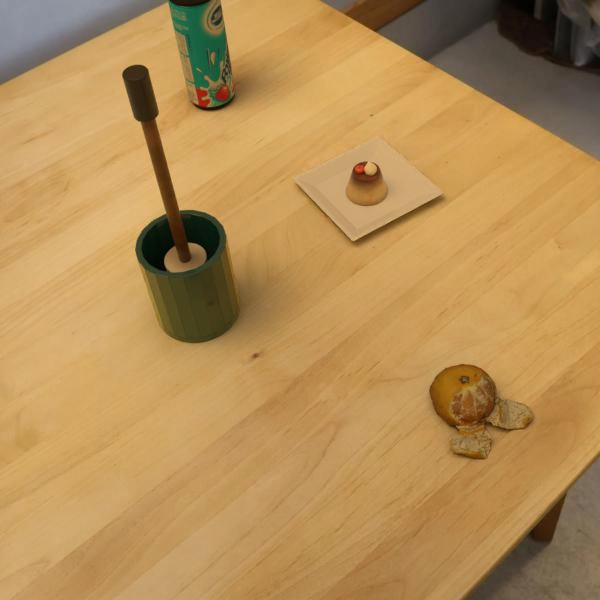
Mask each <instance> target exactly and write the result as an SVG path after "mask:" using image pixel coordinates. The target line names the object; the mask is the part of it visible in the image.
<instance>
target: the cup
mask: <svg viewBox="0 0 600 600" xmlns="http://www.w3.org/2000/svg"><path fill="white" fill-rule="evenodd" d="M179 211H180V215H181V218H182V222H183V226H184V230H185V234H186V238H187V241H188V243H194V244H197V245H199V246H201V247H202V248H203V249H204V250H205V252H206V255H207V259H208V261H207V262H206V263H204V264H203V265H201V266H199V267H197V268H195V269H192V270H188V271H184V272H171V273H170V272H167V270H166V267H165V264H164V259H165V256H166V254H167V252H168V251H169V250H170V249H171V248H173V247H174V246H175V244H174V240H173V236H172V233H171V229H170V226H169V222H168V219H167V215H166V213H163V214H161V215H160V216H158V217H157V218H153V219H152V220H151V221H150V222H149V223H148V224H147V225H145V226H144V227H143V229H142V230H141V231H140V233H139V235H138V237H137V238H136V242H135V247H134V251H135V252H134V253H135V256H136V260H137V263H138V266H139V270H140V271H141V275H142V278H143V281H144V283H145V286H146V289H147V292H148V295H149V299H150V301H151V304H152V307H153V310H154V313H155V316H156V319H157V322H158V324H159V326H160V328H161V329H162V331H163V332H164V333H165V334H166V335H168V336H169V337H170V338H172V339H174V340H176V341H180V342H183V343H190V344H192V343H193V344H196V343H204V342H208V341H211V340H214V339H216V338H218V337H220V336H221V335H224V334H225V333H226V332H228V330H229V329H230V328H231V327H232V326H233V325H234V324H235V322H236V321H237V319H238V316H239V313H240V310H241V302H240V295H239V289H238V284H237V280H236V274H235V270H234V266H233V260H232V255H231V250H230V246H229V241H228V237H227V233H226V230H225V228H224V225H223V224H222V223H221V222H220V221H219V219H217V217H215V216H213V215H211V214H209V213H207V212H206V211H205V212H204V211H201V210H195V209H179Z"/></svg>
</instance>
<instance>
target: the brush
mask: <svg viewBox="0 0 600 600" xmlns="http://www.w3.org/2000/svg"><path fill="white" fill-rule="evenodd" d="M121 78H122V80H123V84H124V87H125V88H124V89H125V91H126V95H127V98H128V101H129V105H130V109H131V112H132V115H133V118H134V119H135V121H137V122H138V123H139V122H140V126H141V128H142V133H143V136H144V139H145V143H146V147H147V150H148V153H149V157H150V160H151V165H152V167H153V172H154V175H155V179H156V182H157V186H158V189H159V194H160V197H161V201H162V204H163V207H164V211H165V214H166V215H167V219H168V222H169V226H170V229H171V233H172V236H173V240H174V244H175V246H174V247H173V248H171V249H170V250H169V251H168V252H167V254H166V256H165V259H164V264H165V267H166V270H167V272H170V273H171V272H184V271H188V270H192V269H195V268H197V267H199V266H201V265H203V264H204V263H206V262H207V261H208V259H207V255H206V252H205V250H204V249H203V248H202V247H201V246H199V245H197V244H194V243H188V241H187V238H186V234H185V230H184V226H183V222H182V218H181V215H180V211H179V210H180V208H179V204H178V199H177V196H176V192H175V188H174V183H173V180H172V177H171V172H170V168H169V166H168V162H167V161H168V160H167V158H166V152H165V149H164V146H163V142H162V138H161V135H160V131H159V127H158V123H157V119H156V118H158V116H159V114H160V113H159V112H160V111H159V107H158V102H157V99H156V94H155V90H154V86H153V82H152V78H151V74H150V71H149V69H148V67H147V66H145V65H144V64H132V65H130V66H127V67H125V68H124V69H123V71H122V73H121Z"/></svg>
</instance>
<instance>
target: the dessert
mask: <svg viewBox="0 0 600 600" xmlns="http://www.w3.org/2000/svg"><path fill="white" fill-rule="evenodd" d="M292 180H293V181H294V182H295V184H297V186H299V187H300V188H301V189H302V190H303V191H304V192H305V193H306V194H307V195H308V197H310V199H311V200H312V201H313V202H314V203H315V204H316V205H317V206H318V207H319V208H320V209H321V210H322V211H323V212H324V213H325V214H326V215H327V217H329V218H330V219H331V221H333V223H334V224H336V226H337V227H338V228H339V229H340V230H341V231H342V232H343V233H344V234H345V235H346V236H347V237H348V238H349V239H350V240H351V241H352V242H355V241H357V240H358V239H359V240H360V238H362V237H365V236H366V235H368V234H370V233H372V232H374V231H376V230H377V229H379V228H381V227H383V226H385V225H387V224H388V223H390V222H392V221H394V220H396V219H398V218H400V217H402V216H404V215H406V214H408V213H409V212H411V211H413V210H416V209H418V208H419V207H421V206H423V205H425V204H427V203H428V202H430V201H432V200H435V199H436V198H437V197H440V196H441V195H443V194H444V191H442V189H440V188H439V187H438V186H437V185H436V184H434V182H432V180H430V179H429V178H428V177H427V176H426V175H424V173H422V172H421V171H420V170H419V169H418V168H417V167H415V166H414V165H413V163H411V162H410V161H409V160H408V159H406V157H404V156H403V155H402V154H401V153H400V152H399V151H398V150H396V149H395V148H394V147H393V146H392V145H391V144H389V142H387V141H386V140H385V139H384V138H383V137H382V136H381V135H376V136H374V137H372V138H370V139H368V140H366V141H364V142H362V143H359V144H358V145H356V146H353V147H352V148H350V149H347V150H346V151H344V152H342V153H340V154H338V155H336V156H334V157H331V158H330V159H328V160H326V161H324V162H321V163H319V164H317V165H315V166H314V167H312V168H311V167H310V168H309V169H307V170H305V171H304V172H301V173H299V174H296V175H295V176H293V177H292Z"/></svg>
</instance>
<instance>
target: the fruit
mask: <svg viewBox="0 0 600 600" xmlns="http://www.w3.org/2000/svg"><path fill="white" fill-rule="evenodd" d="M428 392H429V395H430V400H431V401H432V405H433V409H434V411H435V412H436V414H437V416H439V417H441V418H442V419H443V420H444V421H445V423H446V425H450V426H455V427H456V429H457V430H458V433H457V434H456V436H454V437H453V438H451V439H450V440H449V447H450V450H451V451H452V452H453V453H455V454H457V455H463V456H466V457H468V458H470V459H479V460H483V459H485V460H486V459H487V457H489V452H490V451H491V445H490V444H491V441H492V436H491V435H490V434H489V432H488V430H487V429H486V428H485V427H486V425H485V424H486V423H487V422H488V423H489V422H490V423H492V426H495V427H500V428H502V429H506V430H518V429H523V428H525V427H527V425H528V424H529V423H530V422H531V421H532V419H533V417H532V416H533V413H532V408H530V406H528V405H526V404H525V403H522V402H518V401H515V400H511V399H502V398H500V397H497V385H496V382H495V381H494V380H493V379H492V377H491V376H490V375H489V373H488V372H486V371H485V370H484V369H483V368H481V367H479V366H477V365H475V364H467V363H459V364H455V365H451V366H447V367H444V369H442V370H441V371H440V372H438V373H437V375H435V377H434V379H433V381H431V384H430V385H429V389H428Z"/></svg>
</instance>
